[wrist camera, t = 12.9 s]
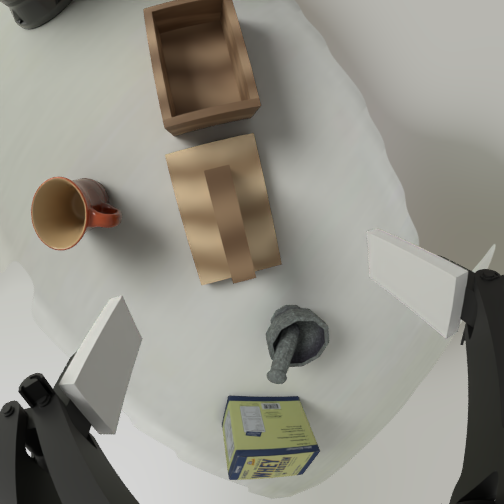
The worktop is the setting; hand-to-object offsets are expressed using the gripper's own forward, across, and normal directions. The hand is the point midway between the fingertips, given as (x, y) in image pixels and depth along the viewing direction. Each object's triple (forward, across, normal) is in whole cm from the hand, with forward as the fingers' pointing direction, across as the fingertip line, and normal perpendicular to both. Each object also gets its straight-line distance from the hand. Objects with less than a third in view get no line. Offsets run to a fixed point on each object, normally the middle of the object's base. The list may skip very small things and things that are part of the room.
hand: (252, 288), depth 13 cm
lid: (+26, 0, 0) cm, 26 cm away
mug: (+27, -18, +6) cm, 33 cm away
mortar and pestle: (+27, +5, -21) cm, 34 cm away
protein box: (+27, -4, -43) cm, 51 cm away
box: (+27, +1, +21) cm, 34 cm away
